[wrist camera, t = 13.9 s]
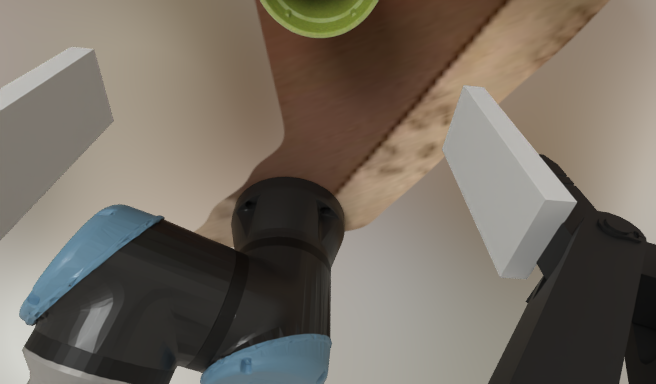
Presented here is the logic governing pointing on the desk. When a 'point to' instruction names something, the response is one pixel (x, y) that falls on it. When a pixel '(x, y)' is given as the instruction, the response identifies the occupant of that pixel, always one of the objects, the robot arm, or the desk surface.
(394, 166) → the desk surface
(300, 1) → the plant pot
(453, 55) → the desk surface
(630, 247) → the robot arm
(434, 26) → the desk surface
